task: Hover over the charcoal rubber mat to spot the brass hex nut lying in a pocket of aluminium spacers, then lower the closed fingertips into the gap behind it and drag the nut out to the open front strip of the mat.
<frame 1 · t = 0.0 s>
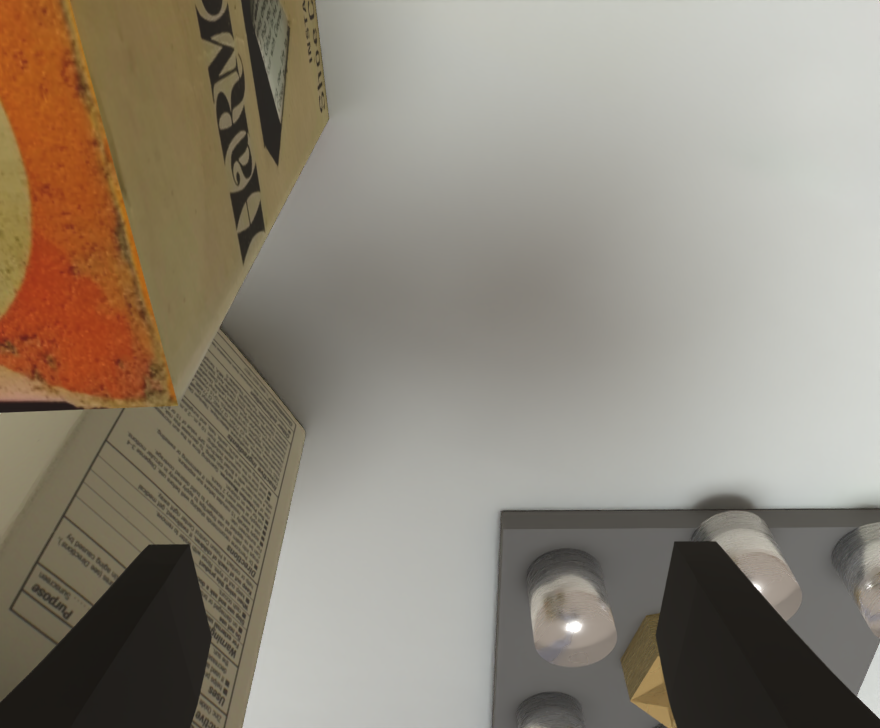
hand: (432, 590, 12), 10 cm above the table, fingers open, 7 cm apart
skincare box: (193, 389, 22), on the table
shoe polish box: (204, 7, 17), on the table
mat: (672, 666, 28), on the table
nut: (687, 648, 26), point 1 cm above the table, touching mat
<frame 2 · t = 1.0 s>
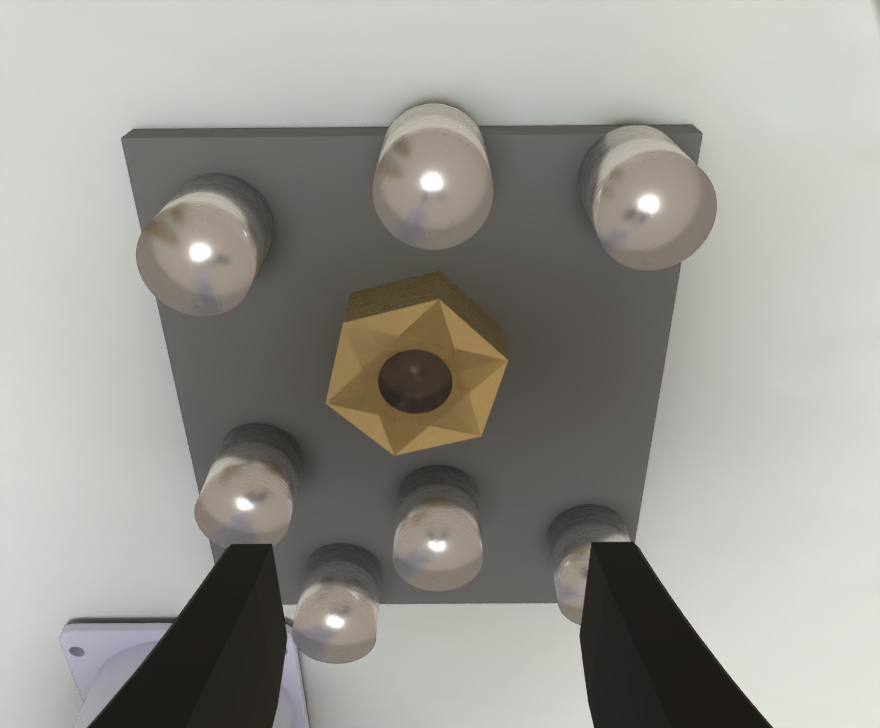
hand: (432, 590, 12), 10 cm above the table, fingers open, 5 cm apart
spacers: (198, 691, 28), resting on mat
mat: (419, 396, 22), on the table
nut: (417, 349, 20), point 1 cm above the table, touching mat
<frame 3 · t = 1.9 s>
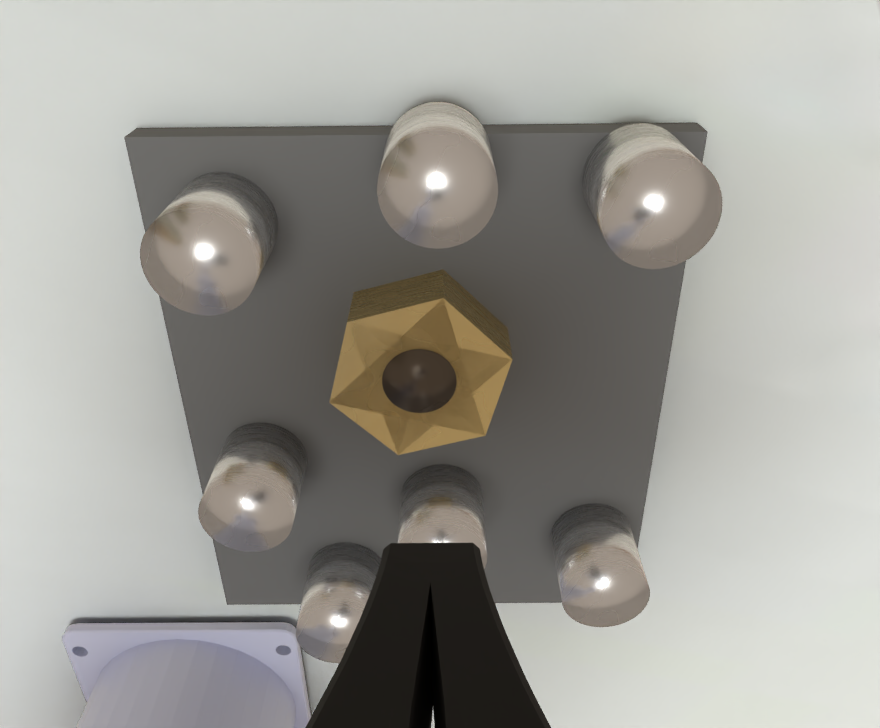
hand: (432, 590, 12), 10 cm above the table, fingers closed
spacers: (201, 691, 28), resting on mat
mat: (423, 396, 22), on the table
nut: (420, 348, 20), point 1 cm above the table, touching mat
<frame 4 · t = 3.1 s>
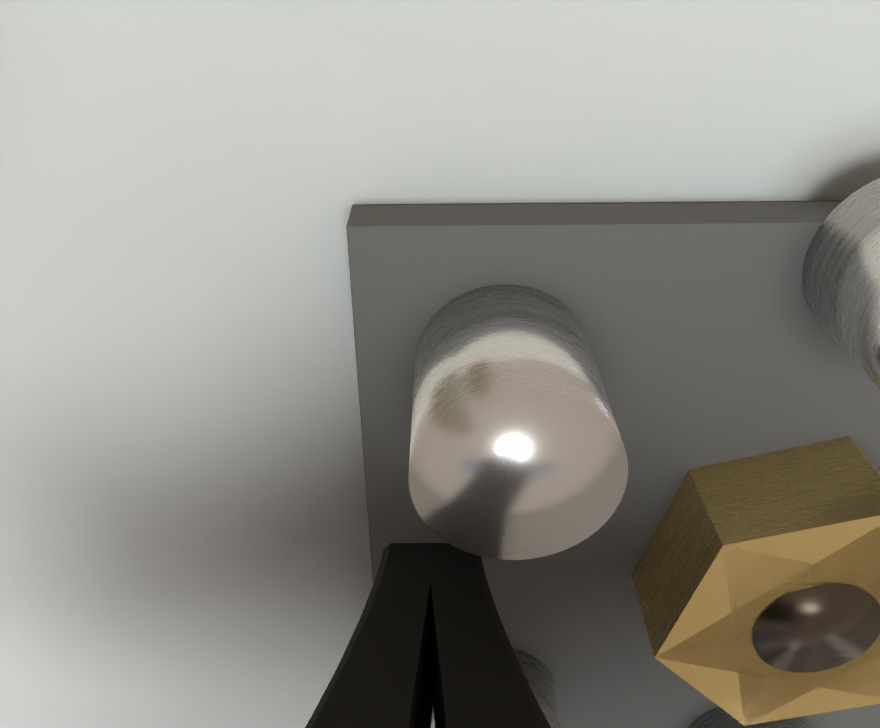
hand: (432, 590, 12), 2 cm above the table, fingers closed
mat: (734, 597, 14), on the table
nut: (774, 548, 12), point 1 cm above the table, touching mat
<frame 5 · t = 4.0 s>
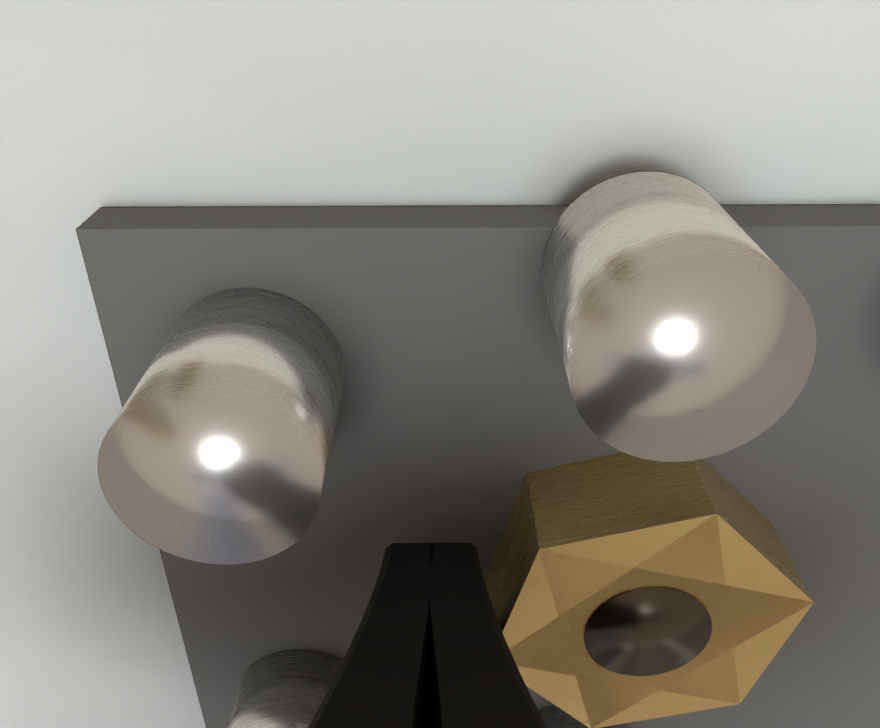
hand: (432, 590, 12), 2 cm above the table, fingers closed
mat: (550, 600, 14), on the table
nut: (623, 551, 12), point 1 cm above the table, touching gripper, mat
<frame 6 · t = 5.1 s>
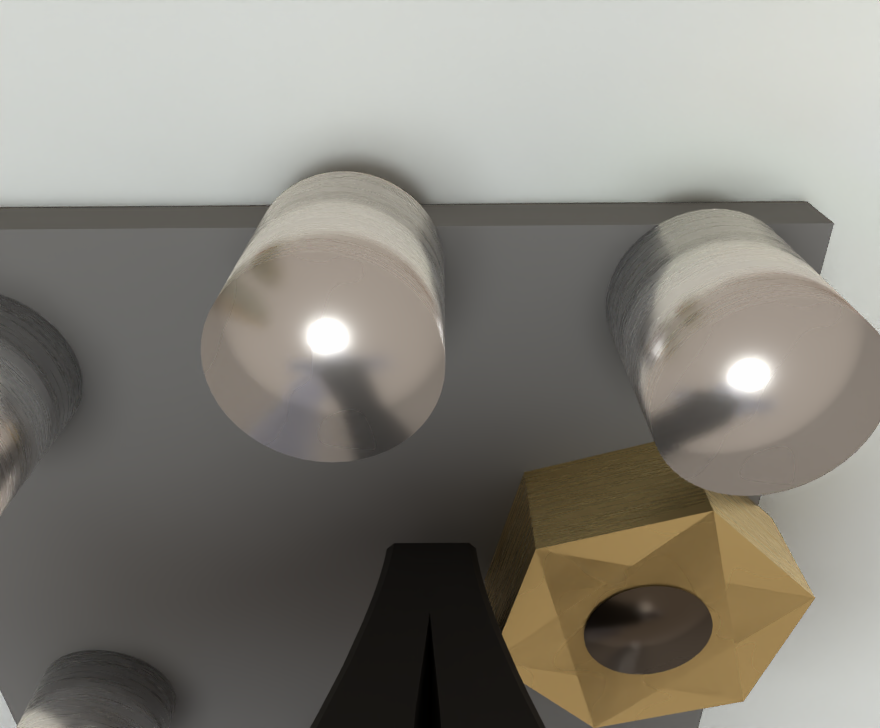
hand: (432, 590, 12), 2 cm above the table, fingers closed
mat: (353, 601, 14), on the table
nut: (624, 549, 12), point 1 cm above the table, touching gripper, mat
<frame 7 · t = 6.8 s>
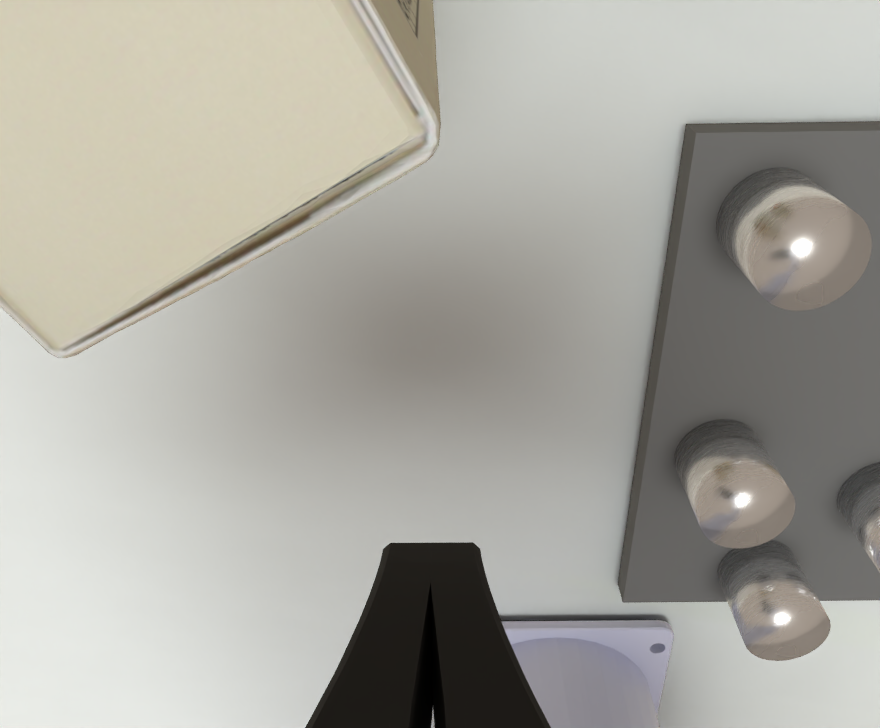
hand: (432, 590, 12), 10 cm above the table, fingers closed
spacers: (548, 689, 28), resting on mat
mat: (877, 392, 22), on the table
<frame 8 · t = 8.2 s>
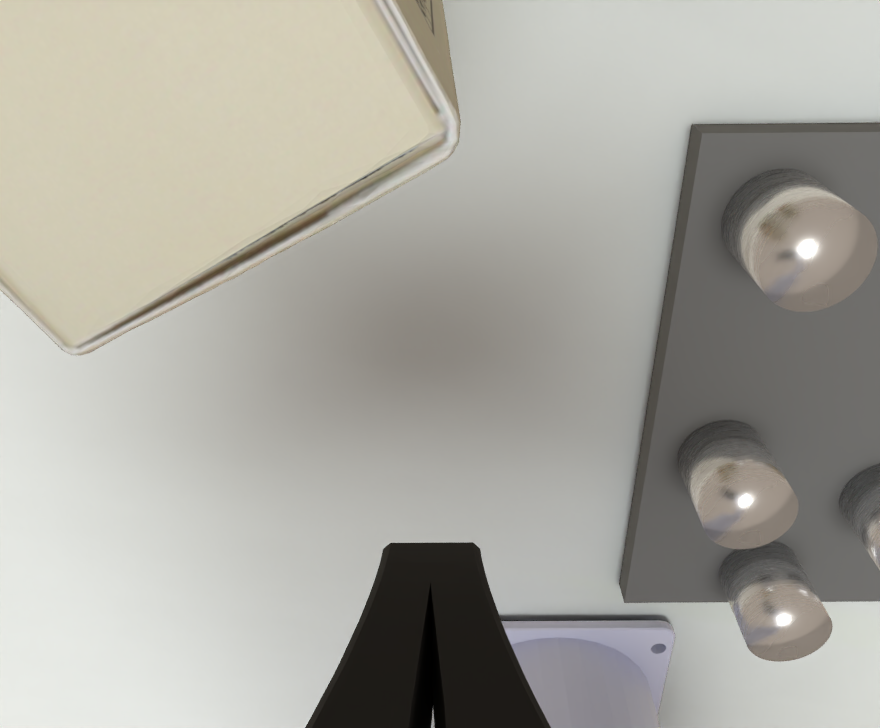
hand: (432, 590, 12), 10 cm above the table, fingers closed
spacers: (548, 689, 28), resting on mat
mat: (879, 393, 22), on the table
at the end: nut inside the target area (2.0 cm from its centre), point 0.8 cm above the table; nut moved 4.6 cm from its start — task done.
